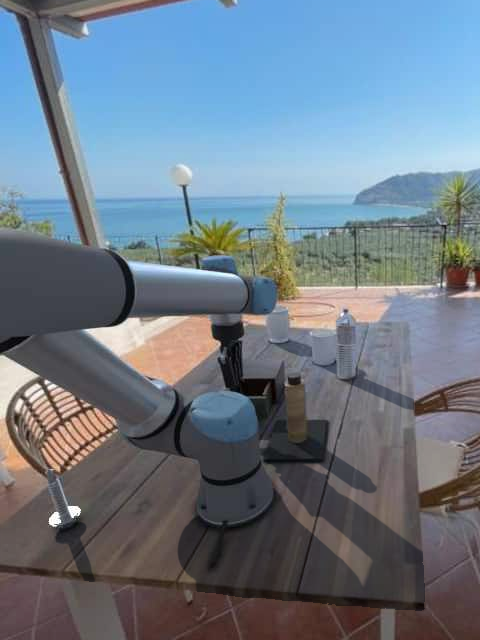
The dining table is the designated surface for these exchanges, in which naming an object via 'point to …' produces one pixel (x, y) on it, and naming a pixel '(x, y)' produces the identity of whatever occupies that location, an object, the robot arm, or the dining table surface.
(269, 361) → the cabinet
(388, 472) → the dining table surface
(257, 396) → the drawer
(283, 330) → the jar
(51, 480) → the screw
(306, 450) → the placemat
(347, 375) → the water bottle
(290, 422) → the pepper mill
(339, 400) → the dining table surface
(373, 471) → the dining table surface
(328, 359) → the candle holder
